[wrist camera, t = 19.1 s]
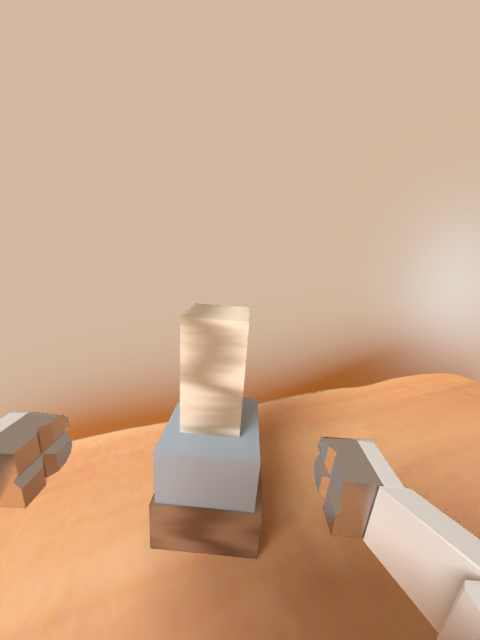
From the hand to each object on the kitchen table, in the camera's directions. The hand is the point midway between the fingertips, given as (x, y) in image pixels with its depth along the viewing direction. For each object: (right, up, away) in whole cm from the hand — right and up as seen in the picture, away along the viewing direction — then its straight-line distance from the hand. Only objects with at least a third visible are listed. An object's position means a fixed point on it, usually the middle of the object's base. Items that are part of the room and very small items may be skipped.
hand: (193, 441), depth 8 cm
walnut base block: (-1, -15, +17) cm, 22 cm away
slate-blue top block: (-1, -10, +15) cm, 18 cm away
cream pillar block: (-1, -5, +14) cm, 15 cm away
